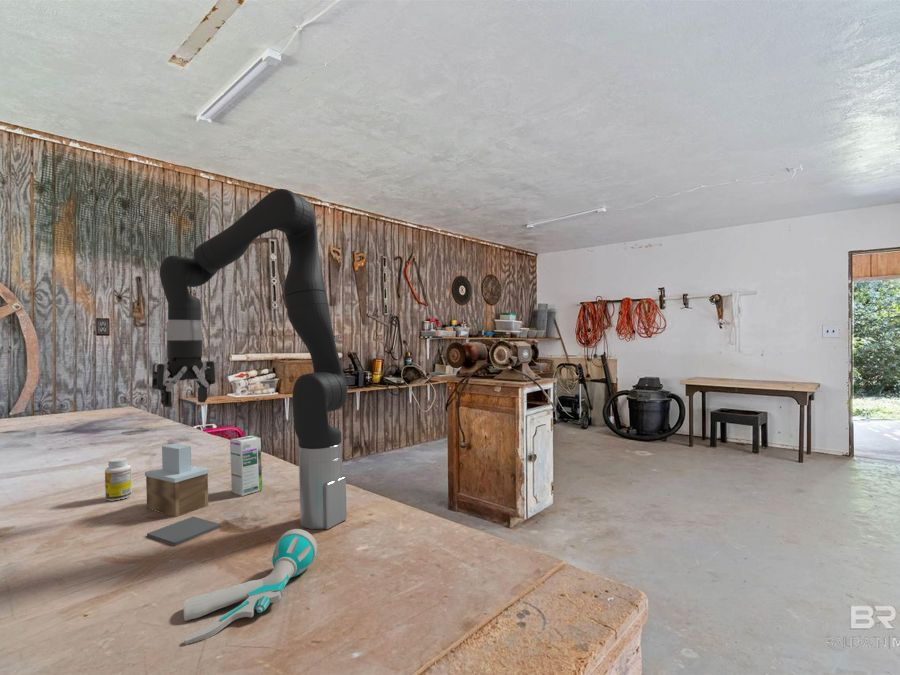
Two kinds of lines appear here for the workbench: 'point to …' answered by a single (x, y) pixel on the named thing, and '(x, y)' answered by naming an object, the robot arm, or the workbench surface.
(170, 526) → the mat
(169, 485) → the crate
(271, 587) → the garden hose nozzle
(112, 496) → the supplement bottle
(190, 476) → the lid
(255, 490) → the syrup box
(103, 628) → the workbench surface
